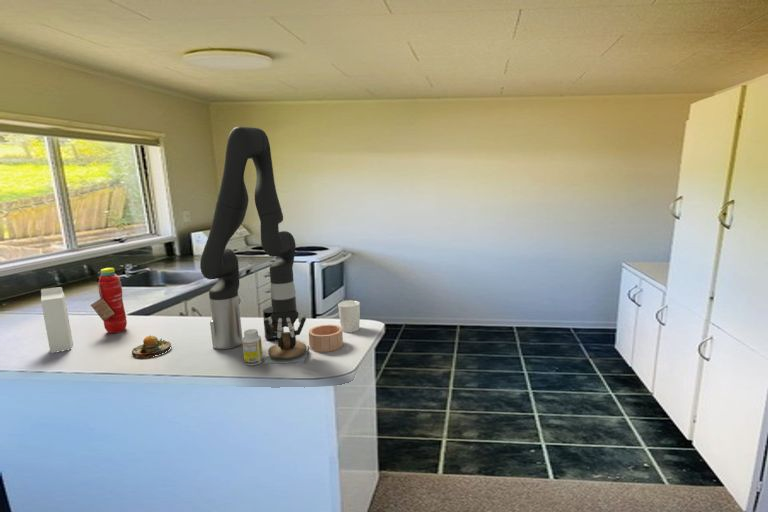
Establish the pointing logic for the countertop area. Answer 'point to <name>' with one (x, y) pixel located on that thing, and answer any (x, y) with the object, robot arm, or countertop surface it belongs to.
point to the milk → (56, 319)
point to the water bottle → (110, 302)
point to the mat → (288, 359)
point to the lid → (287, 348)
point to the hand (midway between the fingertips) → (287, 347)
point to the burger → (151, 347)
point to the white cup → (349, 315)
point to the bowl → (325, 338)
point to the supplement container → (267, 314)
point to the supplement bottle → (252, 347)
